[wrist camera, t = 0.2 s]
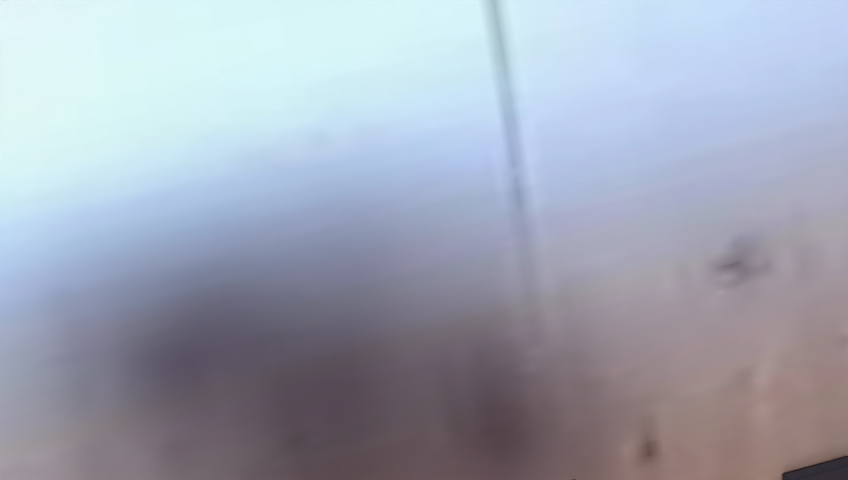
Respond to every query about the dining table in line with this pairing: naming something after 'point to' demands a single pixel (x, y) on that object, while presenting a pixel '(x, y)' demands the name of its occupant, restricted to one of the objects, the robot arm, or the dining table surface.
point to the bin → (822, 471)
